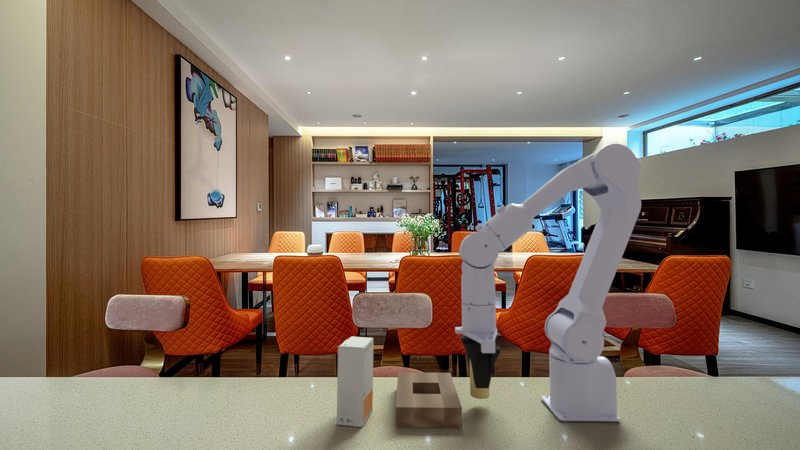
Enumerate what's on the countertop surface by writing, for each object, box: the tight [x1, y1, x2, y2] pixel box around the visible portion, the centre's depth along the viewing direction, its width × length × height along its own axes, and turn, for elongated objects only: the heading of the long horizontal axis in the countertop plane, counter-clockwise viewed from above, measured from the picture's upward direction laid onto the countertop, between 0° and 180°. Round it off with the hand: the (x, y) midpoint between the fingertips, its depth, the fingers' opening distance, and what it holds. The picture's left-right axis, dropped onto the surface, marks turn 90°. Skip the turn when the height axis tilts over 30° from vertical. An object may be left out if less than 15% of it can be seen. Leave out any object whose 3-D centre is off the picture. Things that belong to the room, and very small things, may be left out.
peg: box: [469, 361, 490, 400], centre depth 60 cm, size 3×3×7 cm
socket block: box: [395, 371, 463, 429], centre depth 60 cm, size 10×14×3 cm
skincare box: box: [336, 335, 374, 428], centre depth 57 cm, size 6×4×12 cm
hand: (479, 382), depth 60 cm, fingers closed on peg, 3 cm apart
